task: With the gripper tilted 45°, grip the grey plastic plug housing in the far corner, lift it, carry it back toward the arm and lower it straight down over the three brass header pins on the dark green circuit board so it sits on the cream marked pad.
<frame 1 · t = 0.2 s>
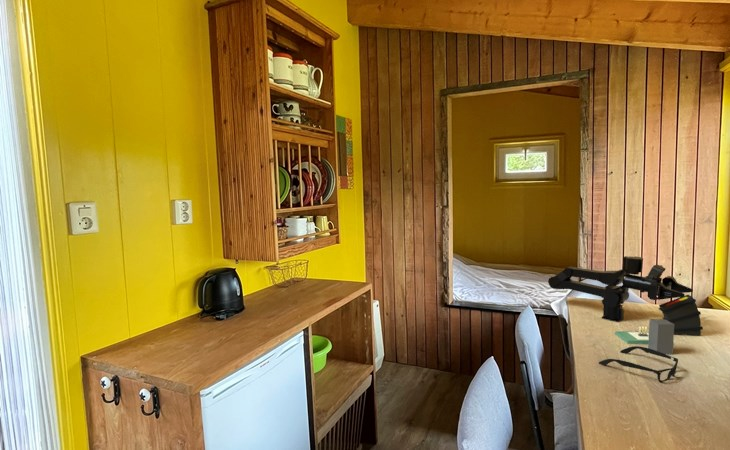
hand: (688, 292, 148), 17 cm above the table, tool horizontal, fingers open, 9 cm apart
glasses: (639, 369, 126), on the table
plug housing: (660, 351, 138), on the table
magazine: (679, 334, 152), on the table
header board: (642, 339, 148), on the table
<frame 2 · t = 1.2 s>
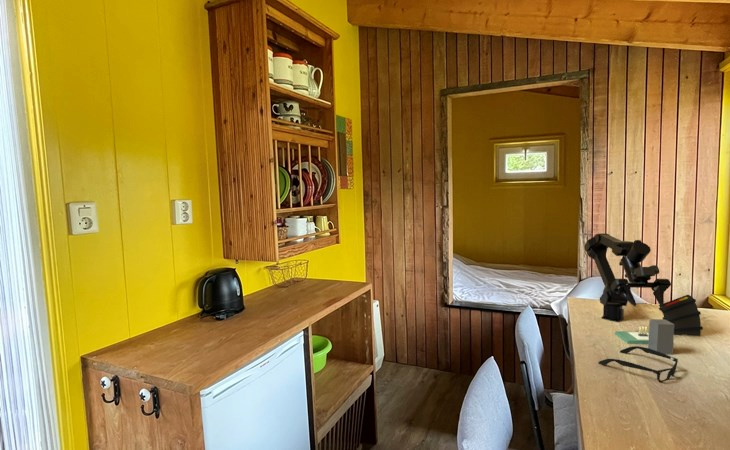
hand: (648, 305, 144), 14 cm above the table, tool tilted 45°, fingers open, 9 cm apart
nothing on the table moved.
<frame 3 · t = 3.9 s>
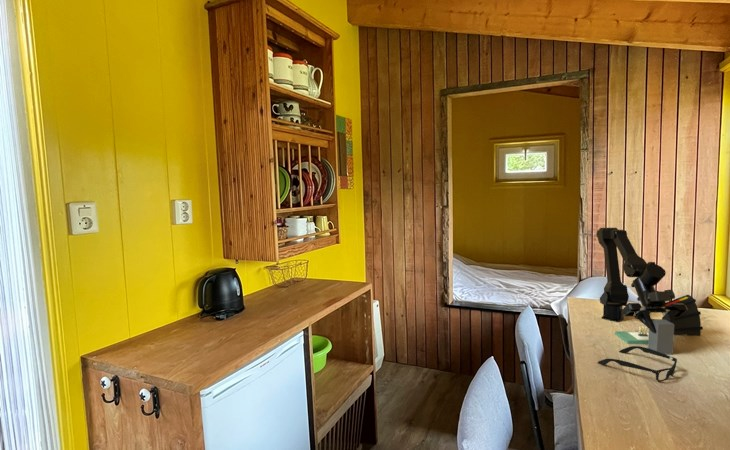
hand: (663, 332, 135), 7 cm above the table, tool tilted 45°, fingers closed on plug housing, 5 cm apart
plug housing: (660, 351, 138), on the table, touching gripper
everything else where it was.
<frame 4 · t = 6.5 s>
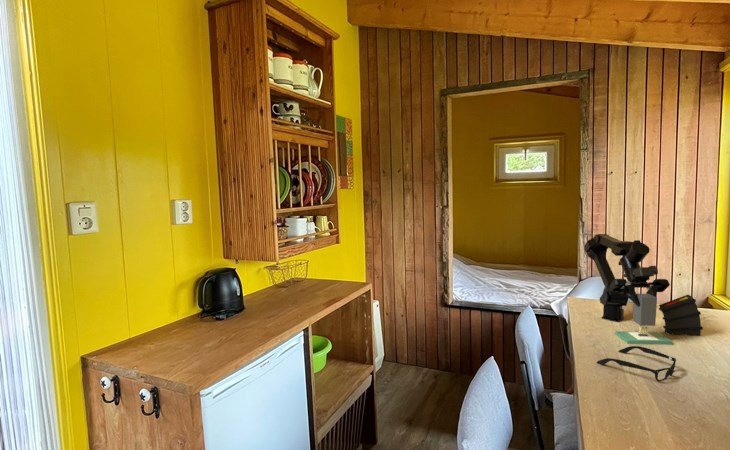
hand: (647, 305, 145), 13 cm above the table, tool tilted 45°, fingers closed on plug housing, 5 cm apart
plug housing: (643, 323, 147), point 6 cm above the table, touching gripper
everything else where it was.
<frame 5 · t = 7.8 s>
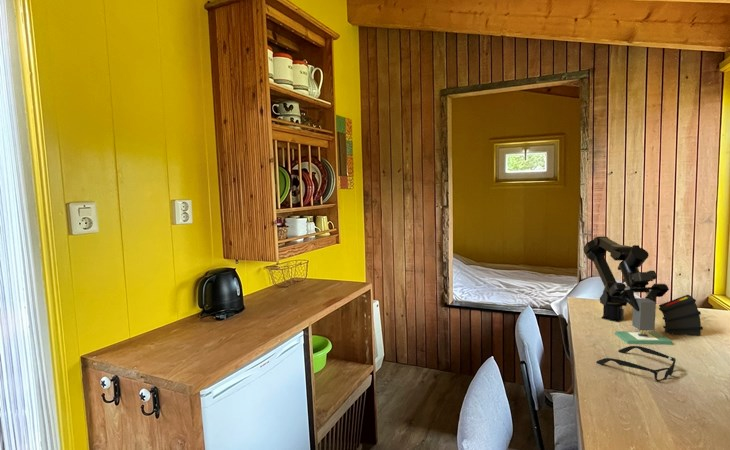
hand: (646, 310, 145), 11 cm above the table, tool tilted 45°, fingers closed on plug housing, 5 cm apart
plug housing: (643, 327, 148), point 4 cm above the table, touching gripper
everything else where it was.
when the fingers open (9 cm above the table, at t = 8.9 s): plug housing stays where it is, resting on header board.
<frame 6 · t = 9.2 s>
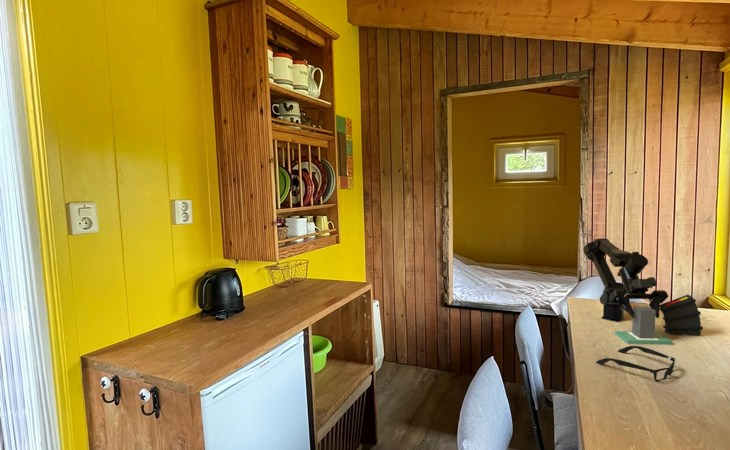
hand: (646, 317, 146), 9 cm above the table, tool tilted 45°, fingers open, 8 cm apart
plug housing: (642, 335, 148), point 1 cm above the table, touching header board
everything else where it was.
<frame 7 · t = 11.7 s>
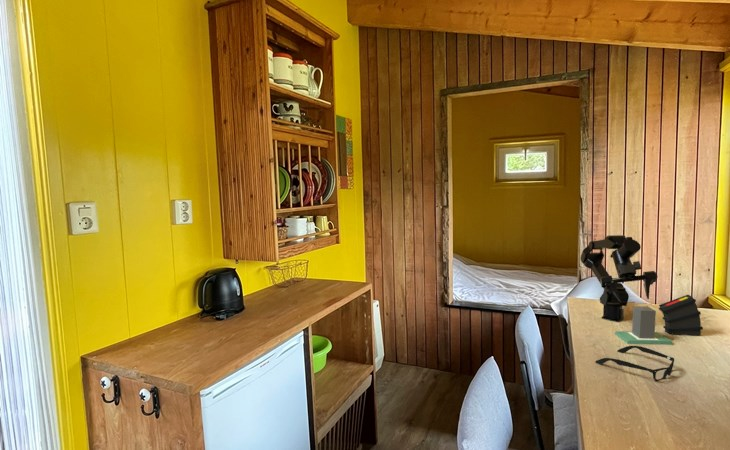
hand: (634, 300, 153), 13 cm above the table, tool tilted 35°, fingers open, 9 cm apart
nothing on the table moved.
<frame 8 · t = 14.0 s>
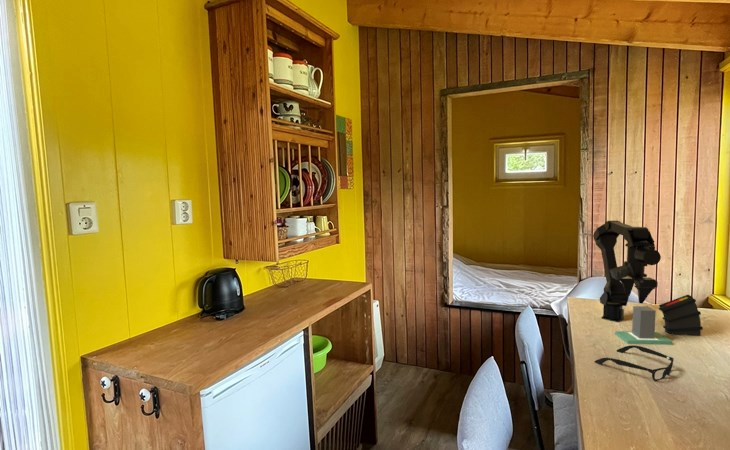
hand: (634, 299, 153), 13 cm above the table, tool pointing down, fingers open, 9 cm apart
at the end: plug housing 0.0 cm off-centre on the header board, point 1.3 cm above the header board's base; plug housing tilted 0°; the gripper is holding nothing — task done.
